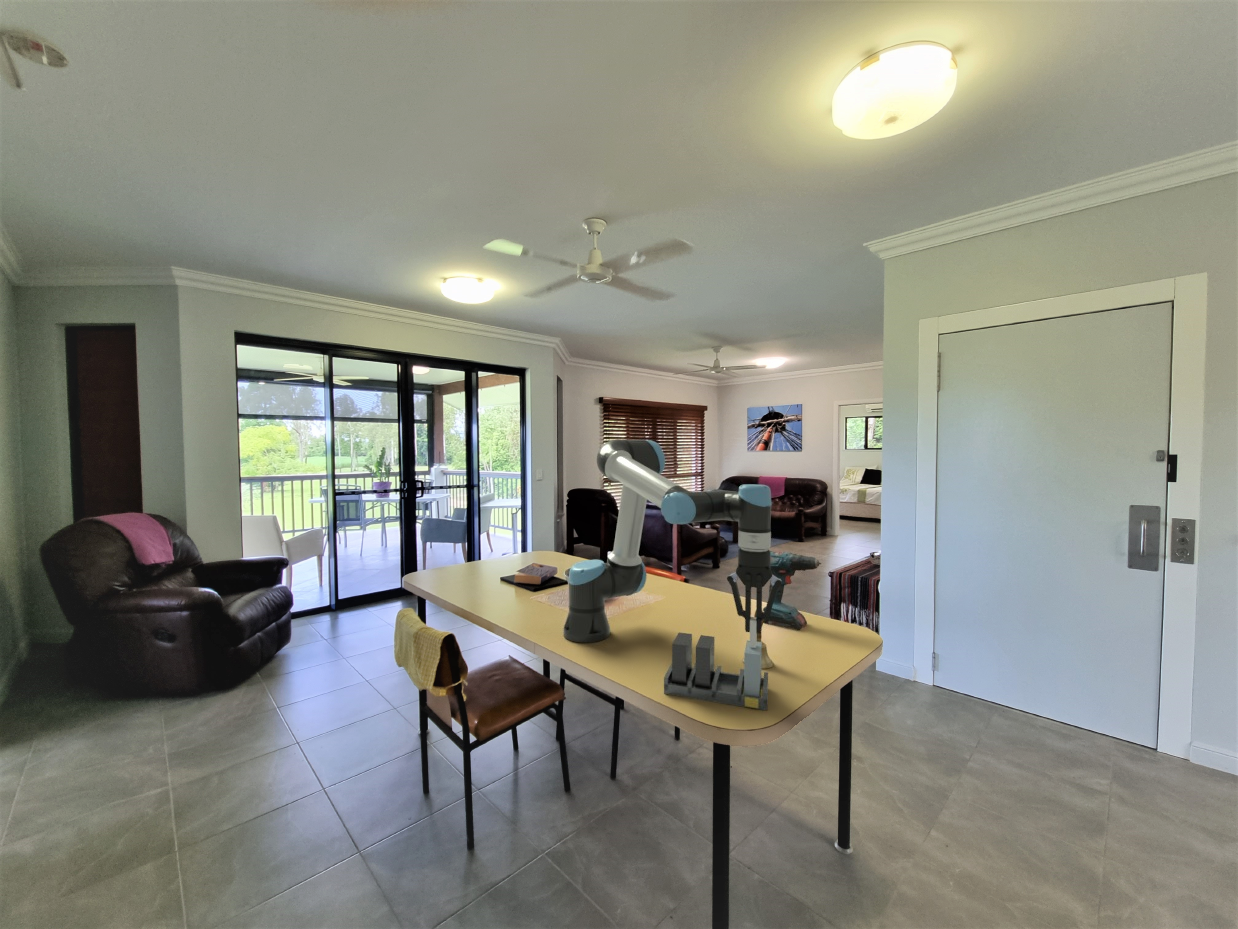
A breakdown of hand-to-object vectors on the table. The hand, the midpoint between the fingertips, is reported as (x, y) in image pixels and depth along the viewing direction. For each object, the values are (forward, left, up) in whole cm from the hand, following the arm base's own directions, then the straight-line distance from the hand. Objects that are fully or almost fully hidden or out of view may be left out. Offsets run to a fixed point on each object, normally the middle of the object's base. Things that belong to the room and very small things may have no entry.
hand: (753, 645), depth 116 cm
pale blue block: (0, 0, -11) cm, 11 cm away
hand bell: (0, +20, -13) cm, 24 cm away
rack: (-9, 0, -13) cm, 15 cm away
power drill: (+8, +56, -13) cm, 58 cm away
